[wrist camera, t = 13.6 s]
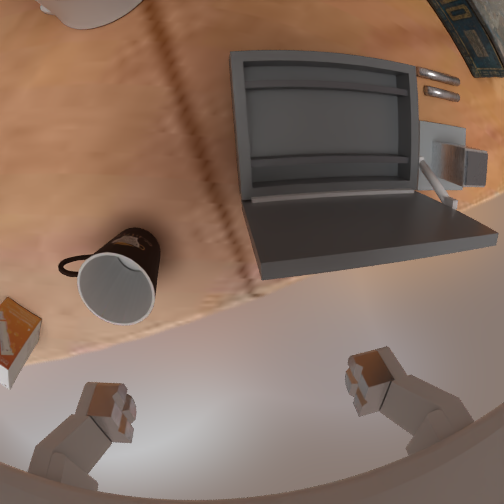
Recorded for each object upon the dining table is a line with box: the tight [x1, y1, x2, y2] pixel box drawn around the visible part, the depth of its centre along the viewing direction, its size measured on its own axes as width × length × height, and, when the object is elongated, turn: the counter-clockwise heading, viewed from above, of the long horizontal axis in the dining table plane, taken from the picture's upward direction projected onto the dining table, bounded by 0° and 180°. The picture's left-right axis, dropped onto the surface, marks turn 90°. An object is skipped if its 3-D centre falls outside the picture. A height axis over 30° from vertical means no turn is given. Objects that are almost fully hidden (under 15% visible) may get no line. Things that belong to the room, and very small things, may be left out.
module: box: [431, 141, 488, 187], centre depth 31 cm, size 5×5×7 cm
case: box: [229, 50, 498, 280], centre depth 24 cm, size 17×23×18 cm
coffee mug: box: [58, 228, 160, 326], centre depth 31 cm, size 12×9×10 cm
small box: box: [0, 297, 41, 390], centre depth 33 cm, size 8×6×13 cm
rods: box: [416, 67, 460, 102], centre depth 30 cm, size 4×8×1 cm, turn 94°
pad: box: [417, 121, 466, 190], centre depth 35 cm, size 10×10×1 cm
